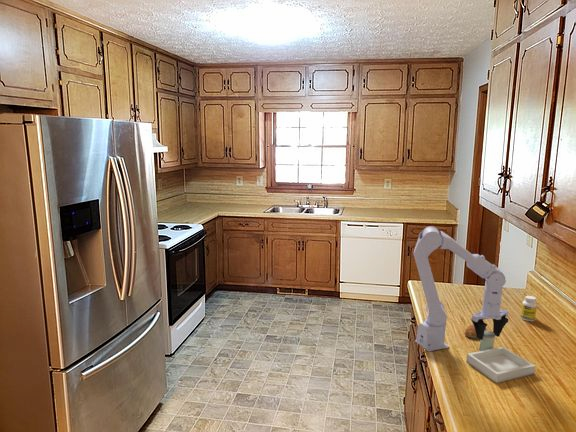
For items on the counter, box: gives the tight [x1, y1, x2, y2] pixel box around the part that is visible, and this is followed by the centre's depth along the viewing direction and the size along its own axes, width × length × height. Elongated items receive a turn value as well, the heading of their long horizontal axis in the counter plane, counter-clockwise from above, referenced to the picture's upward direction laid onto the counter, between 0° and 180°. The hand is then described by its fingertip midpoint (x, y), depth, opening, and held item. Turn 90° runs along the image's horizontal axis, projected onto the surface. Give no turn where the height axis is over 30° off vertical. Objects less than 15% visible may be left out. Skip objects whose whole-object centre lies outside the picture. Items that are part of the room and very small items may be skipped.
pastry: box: [464, 324, 488, 339], centre depth 162 cm, size 9×7×4 cm
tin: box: [478, 329, 496, 352], centre depth 149 cm, size 5×5×7 cm
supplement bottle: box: [520, 295, 538, 322], centre depth 176 cm, size 5×5×10 cm
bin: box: [465, 346, 536, 384], centre depth 139 cm, size 16×13×3 cm
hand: (487, 337), depth 149 cm, fingers open, 7 cm apart
